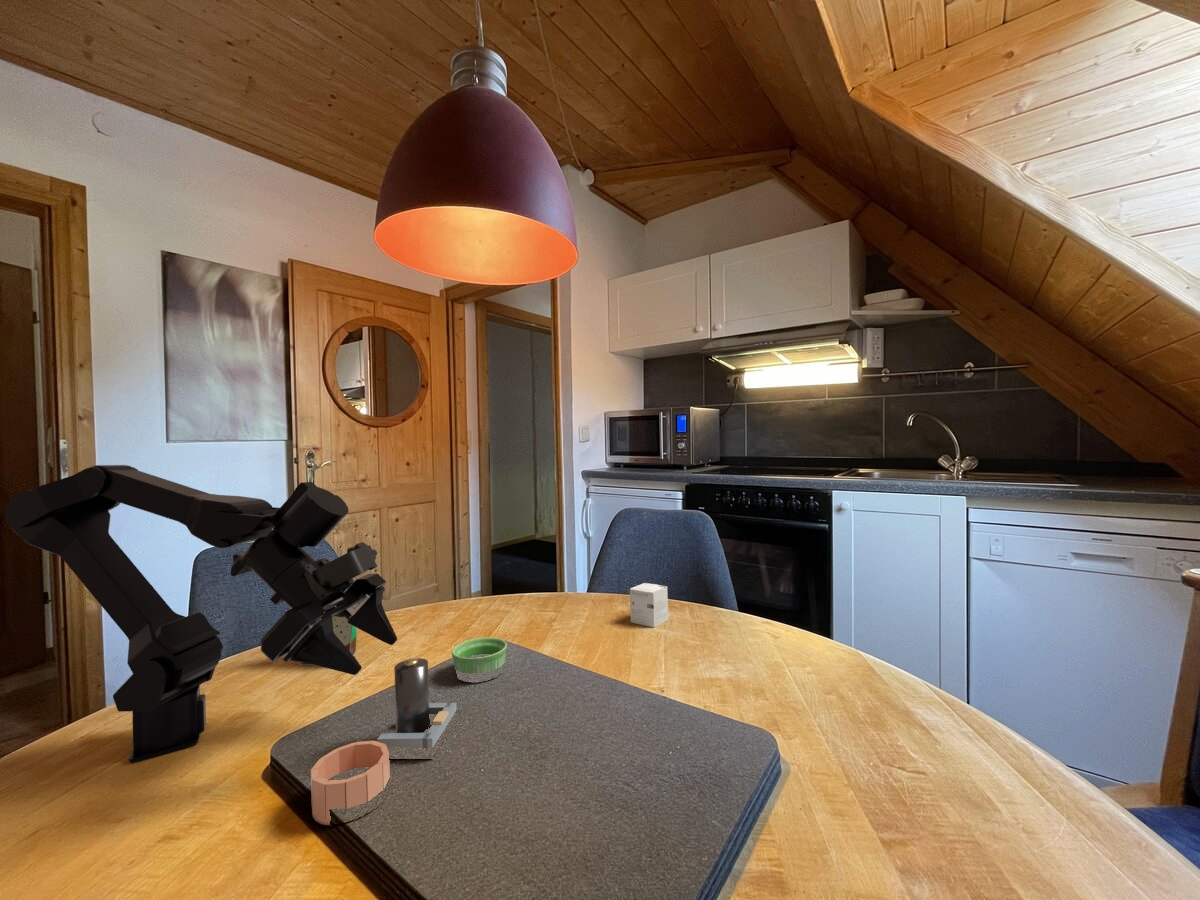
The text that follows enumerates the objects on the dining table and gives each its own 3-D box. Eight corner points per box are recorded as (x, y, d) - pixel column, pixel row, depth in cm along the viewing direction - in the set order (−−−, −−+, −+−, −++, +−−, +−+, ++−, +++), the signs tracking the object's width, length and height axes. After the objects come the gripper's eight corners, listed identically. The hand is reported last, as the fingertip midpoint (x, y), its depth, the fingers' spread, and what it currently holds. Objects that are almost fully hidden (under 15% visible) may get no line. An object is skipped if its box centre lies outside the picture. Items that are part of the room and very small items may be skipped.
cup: (315, 836, 46) (314, 794, 46) (309, 795, 52) (308, 757, 52) (395, 803, 50) (394, 764, 50) (382, 768, 56) (381, 733, 56)
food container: (377, 652, 91) (375, 599, 91) (357, 666, 85) (356, 609, 85) (316, 652, 92) (314, 599, 92) (292, 665, 86) (291, 609, 86)
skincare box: (630, 623, 102) (628, 588, 103) (645, 615, 107) (643, 582, 107) (654, 628, 99) (653, 592, 99) (669, 619, 104) (667, 585, 104)
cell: (400, 753, 59) (398, 670, 59) (393, 738, 62) (391, 660, 62) (433, 741, 61) (431, 661, 61) (425, 727, 64) (423, 652, 64)
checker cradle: (377, 760, 57) (377, 735, 57) (408, 721, 66) (408, 700, 66) (432, 759, 57) (432, 735, 57) (456, 721, 65) (456, 699, 66)
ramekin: (450, 668, 83) (450, 642, 83) (503, 658, 86) (502, 633, 86) (454, 690, 75) (453, 662, 75) (512, 679, 78) (511, 652, 78)
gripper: (283, 539, 53) (384, 636, 52) (370, 518, 72) (446, 590, 71) (216, 612, 53) (316, 711, 53) (321, 573, 72) (396, 645, 71)
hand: (378, 655), depth 62 cm, fingers open, 9 cm apart
